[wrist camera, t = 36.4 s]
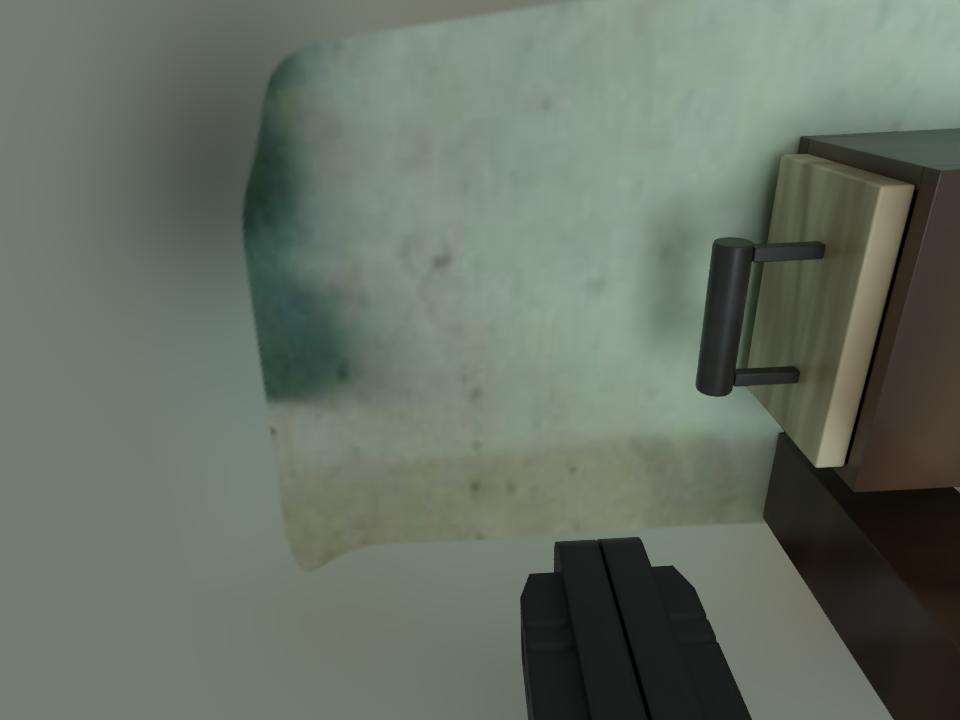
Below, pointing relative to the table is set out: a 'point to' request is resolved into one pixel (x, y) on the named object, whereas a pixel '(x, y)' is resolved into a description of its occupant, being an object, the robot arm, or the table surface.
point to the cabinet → (911, 319)
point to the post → (878, 577)
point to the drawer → (808, 301)
